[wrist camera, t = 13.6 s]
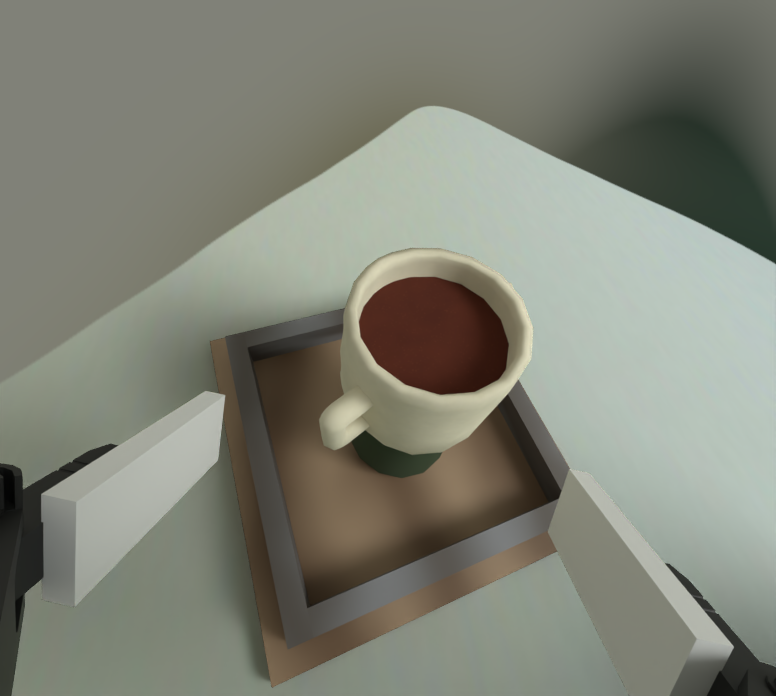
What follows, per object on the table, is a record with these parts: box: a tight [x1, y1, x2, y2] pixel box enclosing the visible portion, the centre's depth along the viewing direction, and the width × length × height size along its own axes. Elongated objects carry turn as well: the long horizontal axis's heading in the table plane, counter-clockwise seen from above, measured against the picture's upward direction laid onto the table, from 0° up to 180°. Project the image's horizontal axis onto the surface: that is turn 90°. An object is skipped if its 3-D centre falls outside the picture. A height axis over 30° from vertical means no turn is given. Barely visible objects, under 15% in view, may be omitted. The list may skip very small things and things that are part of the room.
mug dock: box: [210, 308, 570, 687], centre depth 25 cm, size 20×20×3 cm
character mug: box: [319, 248, 533, 478], centre depth 20 cm, size 11×7×13 cm, turn 131°
